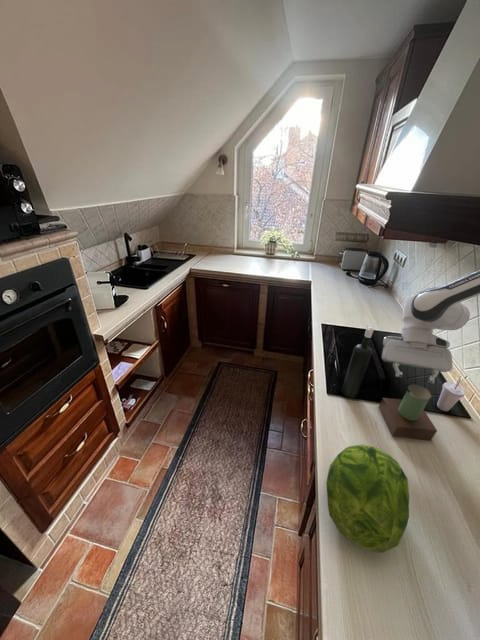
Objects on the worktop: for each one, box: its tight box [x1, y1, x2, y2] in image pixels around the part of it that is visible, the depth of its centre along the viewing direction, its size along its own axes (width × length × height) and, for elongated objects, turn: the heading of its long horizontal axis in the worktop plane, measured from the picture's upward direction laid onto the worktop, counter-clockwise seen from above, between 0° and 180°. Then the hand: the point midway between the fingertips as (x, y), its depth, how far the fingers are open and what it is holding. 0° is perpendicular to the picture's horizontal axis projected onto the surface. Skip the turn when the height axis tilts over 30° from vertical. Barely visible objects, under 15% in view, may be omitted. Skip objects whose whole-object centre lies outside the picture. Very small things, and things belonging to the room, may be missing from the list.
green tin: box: [398, 384, 432, 421], centre depth 82 cm, size 6×6×10 cm
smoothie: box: [436, 378, 467, 412], centre depth 90 cm, size 6×6×14 cm
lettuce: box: [325, 444, 410, 553], centre depth 62 cm, size 18×23×19 cm
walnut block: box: [378, 397, 438, 441], centre depth 86 cm, size 12×12×5 cm
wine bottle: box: [340, 325, 375, 399], centre depth 91 cm, size 6×6×30 cm
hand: (414, 380), depth 84 cm, fingers open, 8 cm apart
